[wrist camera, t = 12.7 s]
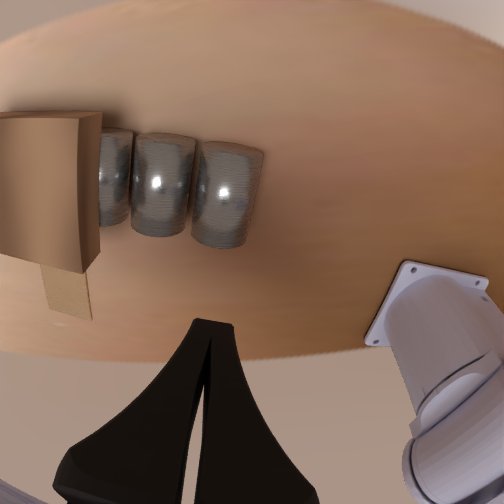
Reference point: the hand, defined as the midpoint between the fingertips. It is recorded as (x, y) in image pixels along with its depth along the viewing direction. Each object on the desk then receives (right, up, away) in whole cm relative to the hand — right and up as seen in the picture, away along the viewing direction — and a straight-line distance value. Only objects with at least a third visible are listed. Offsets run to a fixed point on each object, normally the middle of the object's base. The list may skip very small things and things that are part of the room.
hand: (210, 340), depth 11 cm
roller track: (-9, +4, +9) cm, 13 cm away
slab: (-12, +7, +4) cm, 14 cm away
